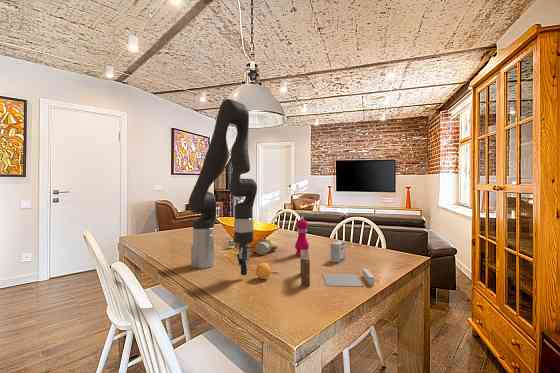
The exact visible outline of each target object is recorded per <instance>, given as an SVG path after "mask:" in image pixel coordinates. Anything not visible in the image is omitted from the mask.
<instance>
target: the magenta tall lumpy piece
mask: <svg viewBox="0 0 560 373" xmlns="http://www.w3.org/2000/svg"><path fill="white" fill-rule="evenodd" d="M295 224H296V228H297V233H298V236H297V239H296V242H295V244H294V248H295V249H296V251H295V255H296V256H297V257H300V250H309V248H310V244H309V241H308V239H307V232H308V229H307V228H308V225H309V224H308V221H307V220H306V219H304V217H303V216H300V219H298V220H297V221H296V223H295Z"/></svg>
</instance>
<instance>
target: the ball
mask: <svg viewBox="0 0 560 373" xmlns="http://www.w3.org/2000/svg"><path fill="white" fill-rule="evenodd" d="M271 274H272V268H271V267H270V265H269V264H268V263H265V262H262V263H259V264H258V265H257V266H256V268H255V275H256V276H257V278H258V279H260V280H266V279H269V277H270V276H271Z"/></svg>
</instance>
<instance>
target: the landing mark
mask: <svg viewBox="0 0 560 373" xmlns="http://www.w3.org/2000/svg"><path fill="white" fill-rule="evenodd" d="M322 277H323V280H324V283H325V286H326V287H357V288H358V287H363V286H364V285H363V283H361V281H360V279H359V278H358V276H356V274H355V273H353V274H351V273H350V274H349V273H337V274H336V273H323V274H322Z"/></svg>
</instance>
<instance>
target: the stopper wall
mask: <svg viewBox="0 0 560 373" xmlns="http://www.w3.org/2000/svg"><path fill="white" fill-rule="evenodd" d="M362 278H363V279H364V280H365V282H366V283H367V284H368V285H369V286H375V277H374V275H373V274H372V273H371V272H370V271H369V270H368V269H367V268H362Z"/></svg>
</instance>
